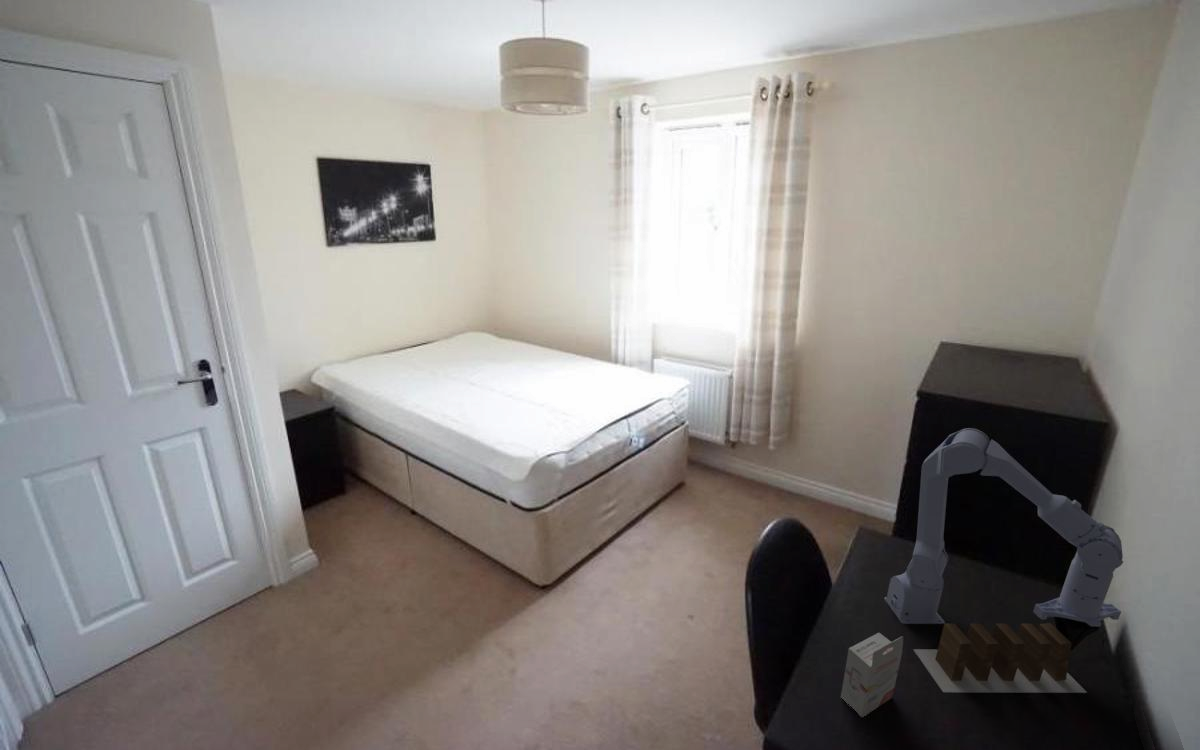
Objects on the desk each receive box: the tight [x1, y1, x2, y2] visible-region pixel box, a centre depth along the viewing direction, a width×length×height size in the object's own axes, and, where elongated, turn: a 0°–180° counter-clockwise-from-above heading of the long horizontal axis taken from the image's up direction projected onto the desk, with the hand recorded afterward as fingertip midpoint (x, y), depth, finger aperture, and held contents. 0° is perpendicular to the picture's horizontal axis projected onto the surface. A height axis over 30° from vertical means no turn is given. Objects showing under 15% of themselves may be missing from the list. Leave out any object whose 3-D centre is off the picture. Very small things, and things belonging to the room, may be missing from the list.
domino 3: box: [991, 623, 1025, 681], centre depth 103 cm, size 2×5×9 cm, turn 0°
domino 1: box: [935, 622, 972, 681], centre depth 103 cm, size 2×5×9 cm, turn 0°
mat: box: [913, 648, 1088, 694], centre depth 104 cm, size 27×10×1 cm, turn 90°
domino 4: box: [1016, 623, 1052, 681], centre depth 103 cm, size 2×5×9 cm, turn 0°
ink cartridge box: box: [840, 632, 904, 718], centre depth 96 cm, size 9×5×15 cm, turn 117°
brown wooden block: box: [1038, 622, 1072, 681], centre depth 103 cm, size 2×5×9 cm, turn 179°
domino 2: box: [965, 622, 998, 681], centre depth 103 cm, size 2×5×9 cm, turn 0°
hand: (1064, 646), depth 102 cm, fingers closed
